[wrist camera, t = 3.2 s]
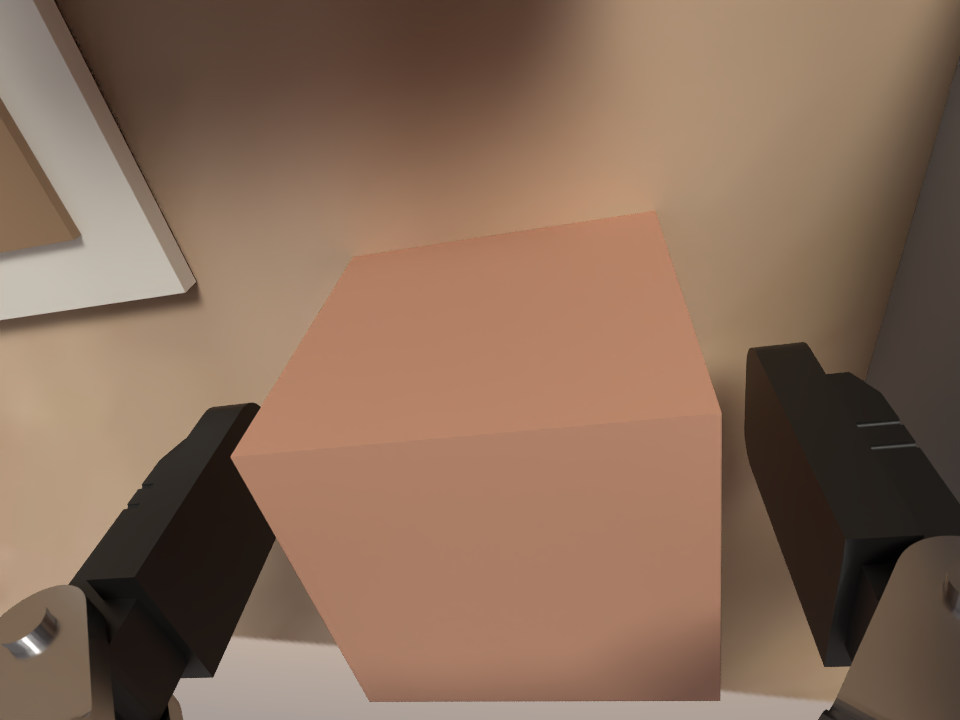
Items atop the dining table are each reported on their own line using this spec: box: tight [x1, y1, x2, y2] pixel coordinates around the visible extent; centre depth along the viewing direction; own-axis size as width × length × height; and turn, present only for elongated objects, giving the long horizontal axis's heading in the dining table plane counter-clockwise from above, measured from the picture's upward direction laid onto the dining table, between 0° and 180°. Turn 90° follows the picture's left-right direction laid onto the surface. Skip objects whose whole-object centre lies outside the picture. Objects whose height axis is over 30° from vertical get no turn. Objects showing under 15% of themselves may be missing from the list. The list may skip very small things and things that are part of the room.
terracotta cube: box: [231, 211, 722, 702], centre depth 10 cm, size 5×5×5 cm
